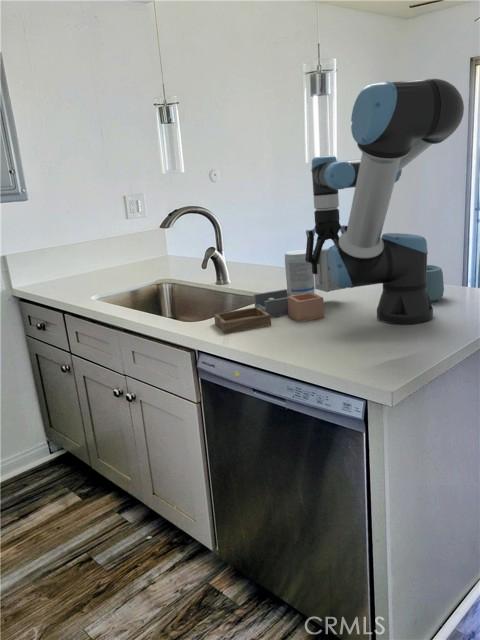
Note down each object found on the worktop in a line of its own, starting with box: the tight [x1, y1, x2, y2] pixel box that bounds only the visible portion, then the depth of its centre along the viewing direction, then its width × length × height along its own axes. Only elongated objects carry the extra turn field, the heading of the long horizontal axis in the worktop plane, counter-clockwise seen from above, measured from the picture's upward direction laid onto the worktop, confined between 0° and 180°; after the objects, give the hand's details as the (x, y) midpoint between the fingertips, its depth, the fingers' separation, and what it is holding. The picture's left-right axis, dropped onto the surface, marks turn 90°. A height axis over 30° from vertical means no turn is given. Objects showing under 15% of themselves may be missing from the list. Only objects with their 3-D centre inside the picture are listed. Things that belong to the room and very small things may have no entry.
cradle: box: [253, 288, 295, 318], centre depth 164 cm, size 12×11×6 cm
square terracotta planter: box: [287, 292, 325, 323], centre depth 155 cm, size 8×8×6 cm
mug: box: [427, 264, 445, 303], centre depth 163 cm, size 15×11×10 cm
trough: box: [213, 306, 272, 334], centre depth 154 cm, size 11×14×3 cm
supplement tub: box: [284, 249, 316, 296], centre depth 182 cm, size 10×10×15 cm
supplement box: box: [313, 247, 346, 293], centre depth 165 cm, size 7×7×13 cm
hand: (330, 281), depth 166 cm, fingers closed on supplement box, 8 cm apart
